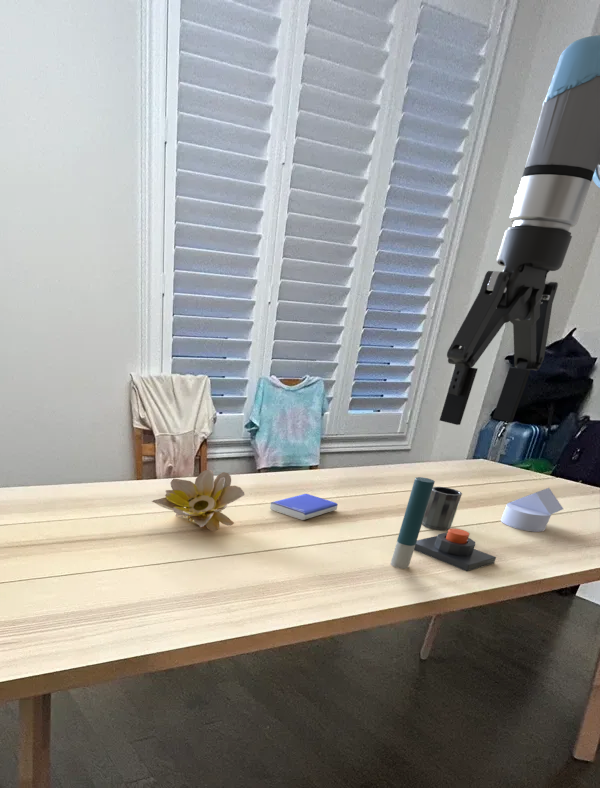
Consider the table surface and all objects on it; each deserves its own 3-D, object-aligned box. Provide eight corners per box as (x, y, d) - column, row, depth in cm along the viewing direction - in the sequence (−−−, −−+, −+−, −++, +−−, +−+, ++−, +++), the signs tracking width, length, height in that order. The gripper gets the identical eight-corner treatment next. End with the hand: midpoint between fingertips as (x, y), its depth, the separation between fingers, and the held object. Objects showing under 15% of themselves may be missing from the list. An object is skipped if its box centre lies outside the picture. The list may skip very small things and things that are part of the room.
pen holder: (455, 528, 128) (467, 493, 124) (439, 532, 124) (451, 496, 120) (431, 520, 131) (442, 485, 127) (415, 523, 128) (425, 488, 124)
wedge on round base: (516, 512, 143) (494, 521, 135) (528, 482, 140) (506, 489, 131) (557, 524, 139) (536, 534, 130) (570, 493, 135) (550, 501, 127)
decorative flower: (136, 504, 113) (152, 447, 108) (178, 511, 121) (195, 457, 117) (193, 536, 105) (212, 476, 101) (234, 541, 114) (254, 485, 109)
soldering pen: (411, 567, 106) (438, 481, 98) (401, 570, 104) (427, 483, 96) (397, 561, 108) (422, 476, 100) (386, 564, 106) (411, 477, 98)
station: (494, 563, 112) (500, 547, 110) (466, 571, 107) (472, 554, 105) (436, 541, 119) (441, 525, 118) (408, 548, 114) (413, 531, 113)
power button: (470, 543, 112) (473, 533, 111) (459, 546, 110) (462, 536, 109) (452, 536, 114) (455, 527, 113) (441, 539, 112) (444, 529, 111)
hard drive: (305, 512, 121) (338, 503, 129) (270, 501, 125) (304, 492, 133) (303, 520, 122) (336, 510, 130) (269, 509, 126) (303, 500, 134)
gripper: (558, 240, 84) (498, 413, 96) (455, 210, 71) (400, 417, 83) (615, 242, 80) (545, 424, 92) (517, 211, 66) (450, 430, 78)
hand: (477, 421), depth 87 cm, fingers open, 13 cm apart
